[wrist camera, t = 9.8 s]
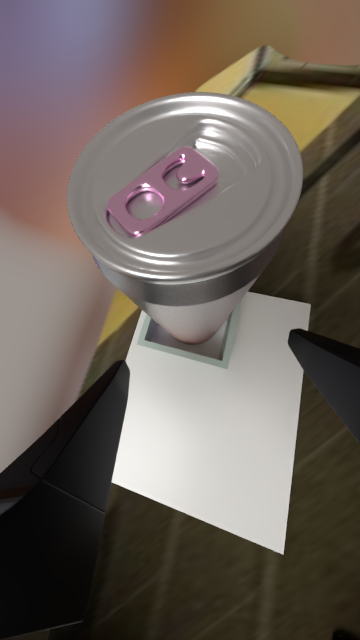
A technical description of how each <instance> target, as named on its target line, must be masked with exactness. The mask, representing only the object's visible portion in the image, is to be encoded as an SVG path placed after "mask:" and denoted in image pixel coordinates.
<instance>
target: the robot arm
mask: <svg viewBox="0 0 360 640" xmlns="http://www.w3.org/2000/svg"><path fill="white" fill-rule="evenodd" d="M288 346H289V347H290V349H291V351H292V352H293V354H294V356H295V357H296V359H297V360H298V362H299V364H300V365H301V367H302V369H303V370H304V372H305V373H306V374H307V376H308V377H309V378H310V380H311V381H312V382H313V383H314V385H315V386H316V387H317V389H318V390H319V391H320V393H321V394H322V395H323V397H324V398H325V399H326V400H327V402H328V403H329V404H330V406H331V407H332V408H333V410H334V411H335V412H336V414H337V415H338V416H339V417H340V419H341V420H342V421H343V423H344V424H345V425H346V427H347V428H348V429H349V431H350V432H351V433H352V434H353V436H354V437H355V438H356V440H357V441H358V442H359V444H360V349H359V348H356V347H353V346H350V345H347V344H344V343H341V342H338V341H336V340H333V339H330V338H327V337H324V336H321V335H318V334H315V333H312V332H309V331H306V330H304V329H301V328H297V329H292V330H290V332H289V337H288ZM129 381H130V369H129V367H128V365H127V363H126V361H125V360H118V361H116V362H115V363H114V364H113V365H112V366H111V367H110V368H109V369H108V370H107V371H106V372H105V373H104V374H103V375H102V376H101V377H100V378H99V379H98V380H97V381H96V382H95V383H94V384H93V385H92V386H91V387H90V388H89V389H88V390H87V391H86V392H85V393H84V394H83V395H82V396H81V397H80V398H79V399H78V400H77V401H76V402H75V403H74V404H73V405H72V406H71V407H70V408H69V409H68V410H67V411H66V412H65V413H64V414H63V415H62V416H61V417H60V418H59V419H58V420H57V421H56V422H55V423H54V424H53V425H52V426H51V427H50V428H49V429H48V430H47V431H46V432H45V433H44V434H43V435H42V436H41V437H39V439H37V441H35V442H34V443H33V444H32V445H31V446H30V447H29V448H28V449H27V450H26V451H25V452H23V453H22V454H21V455H20V456H19V457H18V458H17V459H16V460H15V461H13V462H12V463H11V464H10V465H9V466H8V467H7V468H6V469H5V470H4V471H2V472H1V473H0V640H47V639H48V636H49V632H50V629H53V628H57V627H61V626H66V625H70V624H75V623H79V622H83V620H84V617H85V613H86V608H87V603H88V598H89V593H90V588H91V583H92V578H93V573H94V568H95V563H96V558H97V553H98V548H99V543H100V538H101V533H102V528H103V523H104V518H105V512H106V507H107V502H108V497H109V492H110V487H111V482H112V477H113V472H114V467H115V462H116V457H117V452H118V447H119V442H120V437H121V432H122V427H123V422H124V417H125V412H126V407H127V401H128V393H129ZM334 640H346V639H344V638H342V637H339V636H337V637H335V638H334Z"/></svg>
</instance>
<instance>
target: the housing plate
mask: <svg viewBox="0 0 360 640" xmlns="http://www.w3.org/2000/svg"><path fill="white" fill-rule="evenodd" d="M310 307H311V304H307V303H302V302H297V301H292V300H287V299H282V298H277V297H272V296H267V295H262V294H257V293H252V292H247V293H246V294H245V295H244V297H243V298H242V299H241V301H240V302H239V303H238V305H237V306H236V307H235V308H234V310H233V311H232V312H231V314H230V315H229V316H228V318H227V319H226V320H225V321H224V323H223V324H222V325H221V327H220V328H219V329H218V331H217V332H216V333H215V334H214V336H213V337H212V338H210V339H209V340H208V341H206V342H204V343H201V344H197V345H188V344H184V343H181V342H179V341H177V340H176V339H175V338H174V337H172V336H171V335H170V334H169V333H168V332H167V331H166V330H164V329H163V328H162V327H161V326H160V325H159V324H158V323H156V322H155V321H154V320H153V319H152V318H151V317H150V316H148V315H147V314H146V313H145V312H144V311H143V310H142V312H141V315H140V318H139V321H138V324H137V327H136V330H135V333H134V337H133V340H132V343H131V346H130V349H129V352H128V355H127V358H126V363H127V365H128V367H129V369H130V381H129V393H128V401H127V407H126V412H125V417H124V422H123V427H122V432H121V437H120V442H119V447H118V452H117V457H116V462H115V467H114V472H113V477H112V482H113V483H115V484H117V485H120V486H122V487H124V488H127V489H129V490H131V491H134V492H136V493H139V494H141V495H143V496H146V497H148V498H150V499H153V500H155V501H158V502H160V503H162V504H165V505H167V506H169V507H172V508H174V509H176V510H179V511H181V512H184V513H186V514H188V515H191V516H193V517H195V518H198V519H200V520H202V521H205V522H207V523H210V524H212V525H214V526H217V527H219V528H221V529H224V530H226V531H229V532H231V533H233V534H236V535H238V536H240V537H243V538H245V539H247V540H250V541H252V542H255V543H257V544H259V545H262V546H264V547H266V548H269V549H271V550H273V551H276V552H278V553H281V554H284V544H285V535H286V526H287V517H288V508H289V499H290V490H291V480H292V471H293V462H294V453H295V444H296V435H297V425H298V416H299V407H300V398H301V389H302V380H303V371H304V370H303V369H302V367H301V365H300V364H299V362H298V360H297V359H296V357H295V356H294V354H293V352H292V351H291V349H290V347H289V346H288V337H289V332H290V330H292V329H297V328H301V329H304V330H306V331H308V325H309V316H310Z"/></svg>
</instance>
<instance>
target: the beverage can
mask: <svg viewBox="0 0 360 640" xmlns="http://www.w3.org/2000/svg"><path fill="white" fill-rule="evenodd" d="M302 183H303V165H302V159H301V154H300V151H299V148H298V146H297V144H296V142H295V140H294V138H293V136H292V135H291V133H290V132H289V130H288V129H287V128H286V127H285V126H284V125H283V123H282V122H281V121H280V120H278V119H277V118H276V117H275V116H274V115H272V114H271V113H270V112H268V111H267V110H265V109H264V108H262V107H260V106H258V105H256V104H254V103H252V102H250V101H247V100H244V99H242V98H238V97H235V96H230V95H226V94H219V93H208V92H193V93H182V94H175V95H170V96H165V97H162V98H158V99H155V100H152V101H149V102H146V103H143V104H141V105H139V106H136V107H134V108H132V109H130V110H128V111H127V112H125V113H123V114H122V115H120V116H118V117H117V118H115V119H114V120H112V121H111V122H110V123H108V124H107V125H106V126H105V127H104V128H102V129H101V130H100V131H99V132H98V133H97V134H96V135H95V136H94V137H93V138H92V139H91V140H90V142H89V143H88V144H87V145H86V147H85V148H84V149H83V151H82V153H81V154H80V156H79V157H78V159H77V161H76V163H75V165H74V167H73V170H72V173H71V176H70V179H69V184H68V190H67V206H68V212H69V217H70V220H71V224H72V226H73V228H74V231H75V232H76V234H77V236H78V238H79V239H80V241H81V242H82V244H83V245H84V246H85V247H86V249H87V250H88V251H89V252H90V253H91V254H92V255H93V258H94V260H95V262H96V264H97V266H98V268H99V269H100V270H101V272H102V273H103V274H104V276H105V277H106V278H107V279H108V280H109V281H110V282H111V283H112V284H113V285H114V286H115V287H117V288H118V289H119V290H120V291H121V292H122V293H123V294H125V295H126V296H127V297H128V298H129V299H130V300H131V301H133V302H134V303H135V304H136V305H137V306H138V307H139V308H141V309H142V310H143V311H144V312H145V313H146V314H147V315H148V316H150V317H151V318H152V319H153V320H154V321H155V322H156V323H158V324H159V325H160V326H161V327H162V328H163V329H164V330H166V331H167V332H168V333H169V334H170V335H171V336H172V337H174V338H175V339H176V340H177V341H179V342H181V343H184V344H188V345H197V344H201V343H204V342H206V341H208V340H209V339H210V338H212V337H213V336H214V334H215V333H216V332H217V331H218V329H219V328H220V327H221V325H222V324H223V323H224V321H225V320H226V319H227V318H228V316H229V315H230V314H231V312H232V311H233V310H234V308H235V307H236V306H237V305H238V303H239V302H240V301H241V299H242V298H243V297H244V295H245V294H246V293H247V292H248V290H249V289H250V288H251V286H252V285H253V284H254V282H255V281H256V280H257V278H258V277H259V276H260V275H261V273H262V272H263V271H264V269H265V268H266V267H267V265H268V264H269V263H270V262H271V260H272V259H273V257H274V256H275V254H276V252H277V250H278V248H279V246H280V243H281V241H282V238H283V235H284V231H285V227H286V225H287V224H288V222H289V220H290V218H291V217H292V215H293V213H294V211H295V208H296V206H297V204H298V201H299V197H300V194H301V189H302Z"/></svg>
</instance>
